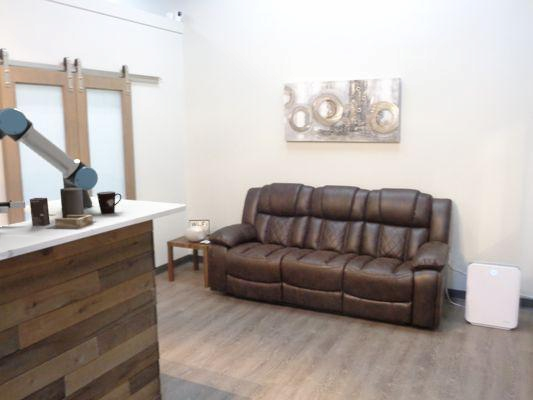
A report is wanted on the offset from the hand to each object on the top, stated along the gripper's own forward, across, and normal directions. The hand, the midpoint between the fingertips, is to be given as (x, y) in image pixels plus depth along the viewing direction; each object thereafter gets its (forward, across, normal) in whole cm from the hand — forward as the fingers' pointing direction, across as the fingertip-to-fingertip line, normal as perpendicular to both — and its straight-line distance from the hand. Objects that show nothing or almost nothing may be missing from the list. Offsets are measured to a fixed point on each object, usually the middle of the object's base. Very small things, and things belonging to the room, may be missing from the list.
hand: (16, 207), depth 218 cm
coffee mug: (+31, -29, -8) cm, 43 cm away
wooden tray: (+26, +3, -8) cm, 27 cm away
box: (+10, 0, -8) cm, 13 cm away
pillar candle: (+17, -18, -8) cm, 26 cm away
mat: (+25, +2, -8) cm, 26 cm away
